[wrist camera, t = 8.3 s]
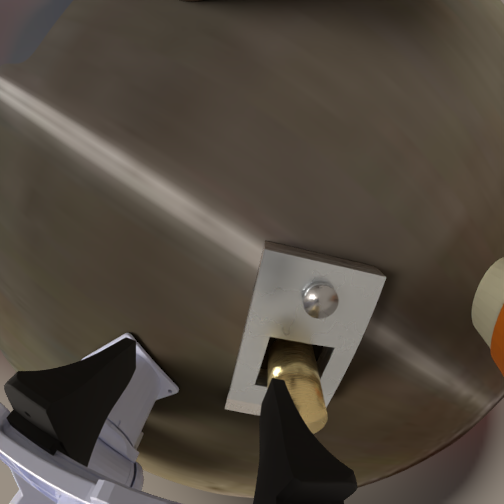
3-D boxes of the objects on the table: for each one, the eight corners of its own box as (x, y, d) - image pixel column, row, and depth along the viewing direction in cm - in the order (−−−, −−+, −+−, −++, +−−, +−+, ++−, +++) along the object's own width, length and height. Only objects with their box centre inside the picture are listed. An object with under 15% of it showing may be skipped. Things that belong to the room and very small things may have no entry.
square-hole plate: (310, 413, 25) (313, 436, 22) (226, 400, 25) (221, 424, 22) (375, 266, 20) (391, 281, 17) (265, 240, 20) (264, 253, 17)
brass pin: (282, 376, 24) (284, 444, 16) (259, 348, 23) (254, 416, 15) (320, 358, 23) (336, 424, 15) (300, 327, 22) (311, 393, 14)
